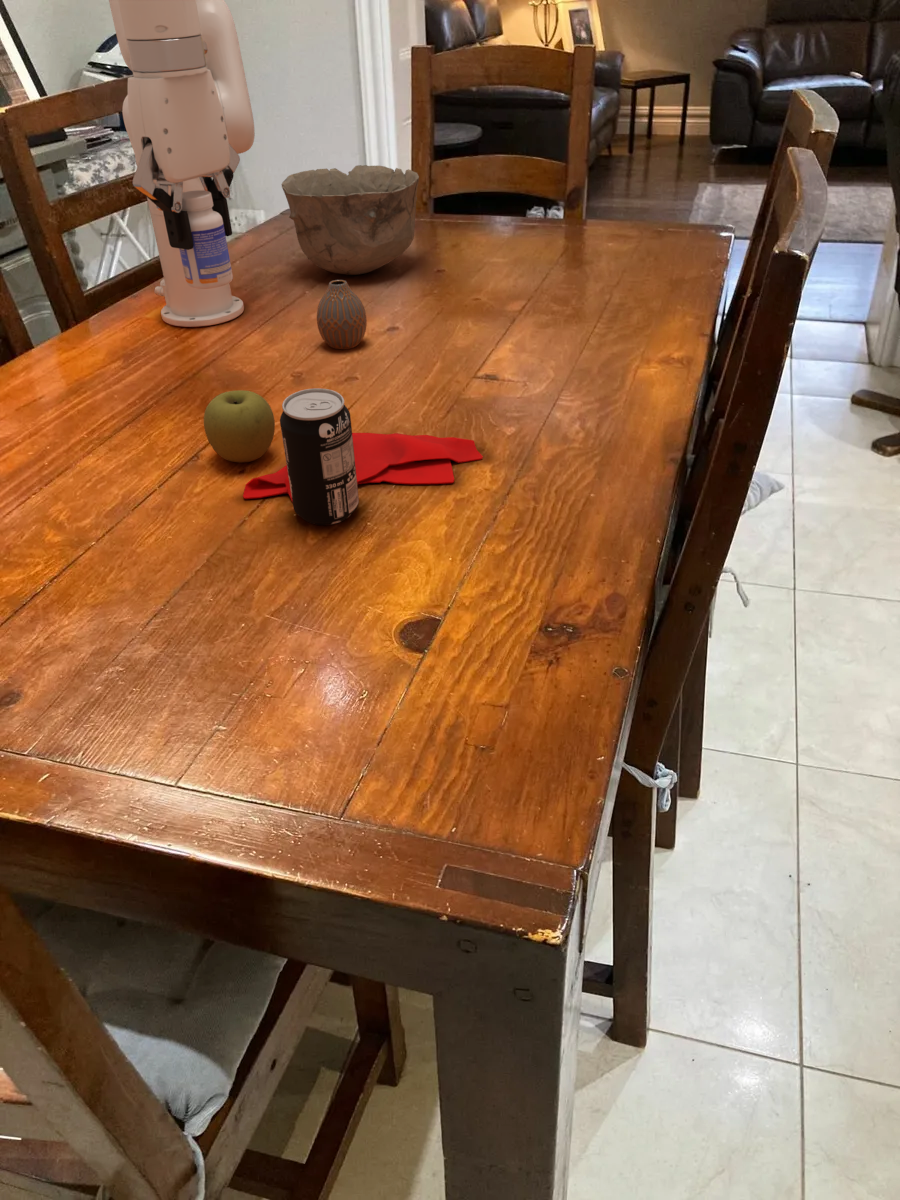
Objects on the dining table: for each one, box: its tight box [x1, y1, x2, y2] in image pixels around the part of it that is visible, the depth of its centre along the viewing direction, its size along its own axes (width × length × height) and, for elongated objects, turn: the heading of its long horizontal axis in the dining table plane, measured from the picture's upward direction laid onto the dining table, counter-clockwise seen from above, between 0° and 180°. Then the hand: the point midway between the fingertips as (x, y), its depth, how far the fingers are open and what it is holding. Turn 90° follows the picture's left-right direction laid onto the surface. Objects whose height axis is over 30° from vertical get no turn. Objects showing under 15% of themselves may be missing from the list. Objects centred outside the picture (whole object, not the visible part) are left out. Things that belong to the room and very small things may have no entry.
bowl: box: [281, 164, 420, 276], centre depth 157 cm, size 22×22×15 cm
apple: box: [203, 389, 276, 463], centre depth 103 cm, size 8×8×7 cm
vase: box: [316, 279, 368, 350], centre depth 130 cm, size 7×7×9 cm
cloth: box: [242, 432, 484, 504], centre depth 102 cm, size 26×14×2 cm, turn 99°
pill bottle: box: [179, 190, 234, 289], centre depth 106 cm, size 5×5×10 cm
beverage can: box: [279, 388, 360, 526], centre depth 90 cm, size 7×7×12 cm
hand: (201, 239), depth 106 cm, fingers closed on pill bottle, 5 cm apart
